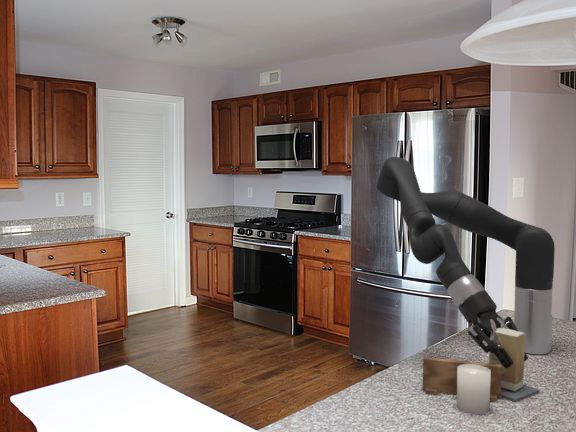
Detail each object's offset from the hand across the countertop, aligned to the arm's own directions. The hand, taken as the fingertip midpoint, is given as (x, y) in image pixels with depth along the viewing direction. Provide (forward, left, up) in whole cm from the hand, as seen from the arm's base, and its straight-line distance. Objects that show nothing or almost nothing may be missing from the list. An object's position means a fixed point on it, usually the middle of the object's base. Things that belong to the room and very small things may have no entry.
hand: (517, 363), depth 118 cm
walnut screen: (+10, -7, -7) cm, 14 cm away
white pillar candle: (+14, -1, -7) cm, 16 cm away
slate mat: (0, -2, -7) cm, 7 cm away
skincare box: (0, -2, -6) cm, 6 cm away
